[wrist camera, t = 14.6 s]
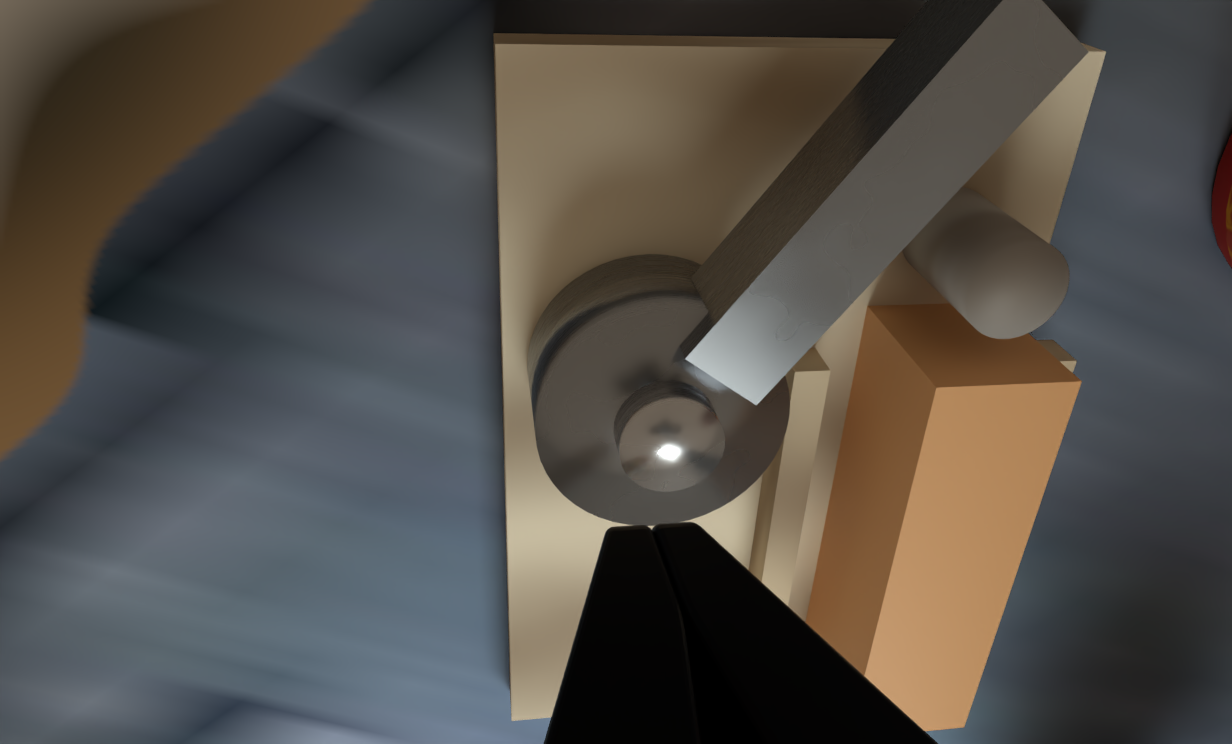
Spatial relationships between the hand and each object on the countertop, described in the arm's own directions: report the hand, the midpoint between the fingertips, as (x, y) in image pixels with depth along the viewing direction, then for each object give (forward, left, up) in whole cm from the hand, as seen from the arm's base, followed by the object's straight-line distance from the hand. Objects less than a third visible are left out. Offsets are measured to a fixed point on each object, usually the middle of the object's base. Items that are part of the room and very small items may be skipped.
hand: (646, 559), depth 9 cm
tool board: (-7, -5, -12) cm, 15 cm away
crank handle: (-1, -4, -11) cm, 12 cm away
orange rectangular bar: (-8, -9, -11) cm, 16 cm away
